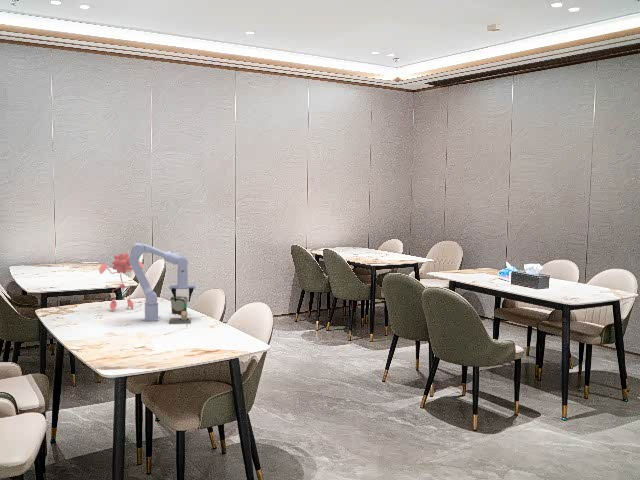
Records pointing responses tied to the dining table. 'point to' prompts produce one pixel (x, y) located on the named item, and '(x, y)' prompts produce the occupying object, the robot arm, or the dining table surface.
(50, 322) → the dining table surface
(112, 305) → the figurine
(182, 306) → the food container
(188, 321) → the plate
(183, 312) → the peg
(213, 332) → the dining table surface
